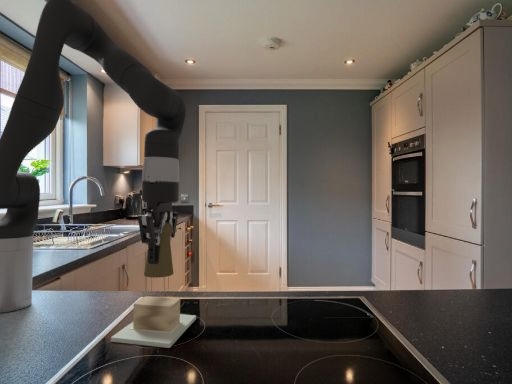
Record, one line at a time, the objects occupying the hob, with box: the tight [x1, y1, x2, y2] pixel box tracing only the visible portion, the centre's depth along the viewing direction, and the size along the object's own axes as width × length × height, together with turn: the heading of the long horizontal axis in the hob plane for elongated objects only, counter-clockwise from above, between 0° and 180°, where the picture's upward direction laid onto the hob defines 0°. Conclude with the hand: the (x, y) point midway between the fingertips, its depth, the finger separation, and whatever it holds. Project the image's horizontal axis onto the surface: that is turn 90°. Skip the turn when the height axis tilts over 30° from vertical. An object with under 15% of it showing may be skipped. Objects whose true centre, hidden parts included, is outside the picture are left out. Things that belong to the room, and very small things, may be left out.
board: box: [110, 313, 197, 349], centre depth 66 cm, size 12×14×1 cm
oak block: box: [132, 296, 181, 332], centre depth 66 cm, size 8×5×5 cm, turn 82°
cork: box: [143, 222, 174, 279], centre depth 67 cm, size 6×6×11 cm
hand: (158, 260), depth 67 cm, fingers closed on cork, 4 cm apart
